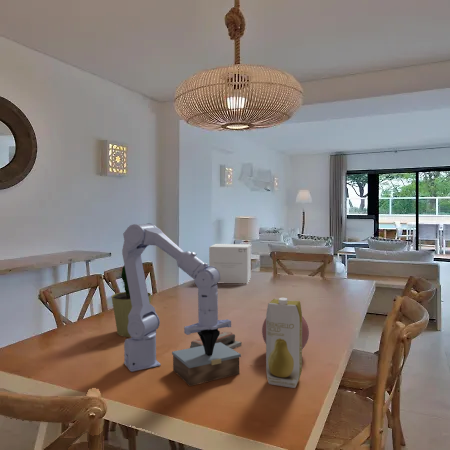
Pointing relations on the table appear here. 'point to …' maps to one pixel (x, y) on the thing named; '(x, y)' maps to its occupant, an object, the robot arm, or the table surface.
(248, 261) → the cube
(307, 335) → the balloon
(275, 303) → the juice carton
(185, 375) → the box
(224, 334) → the packaged product
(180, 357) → the lid
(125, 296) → the potted cactus
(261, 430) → the table surface
